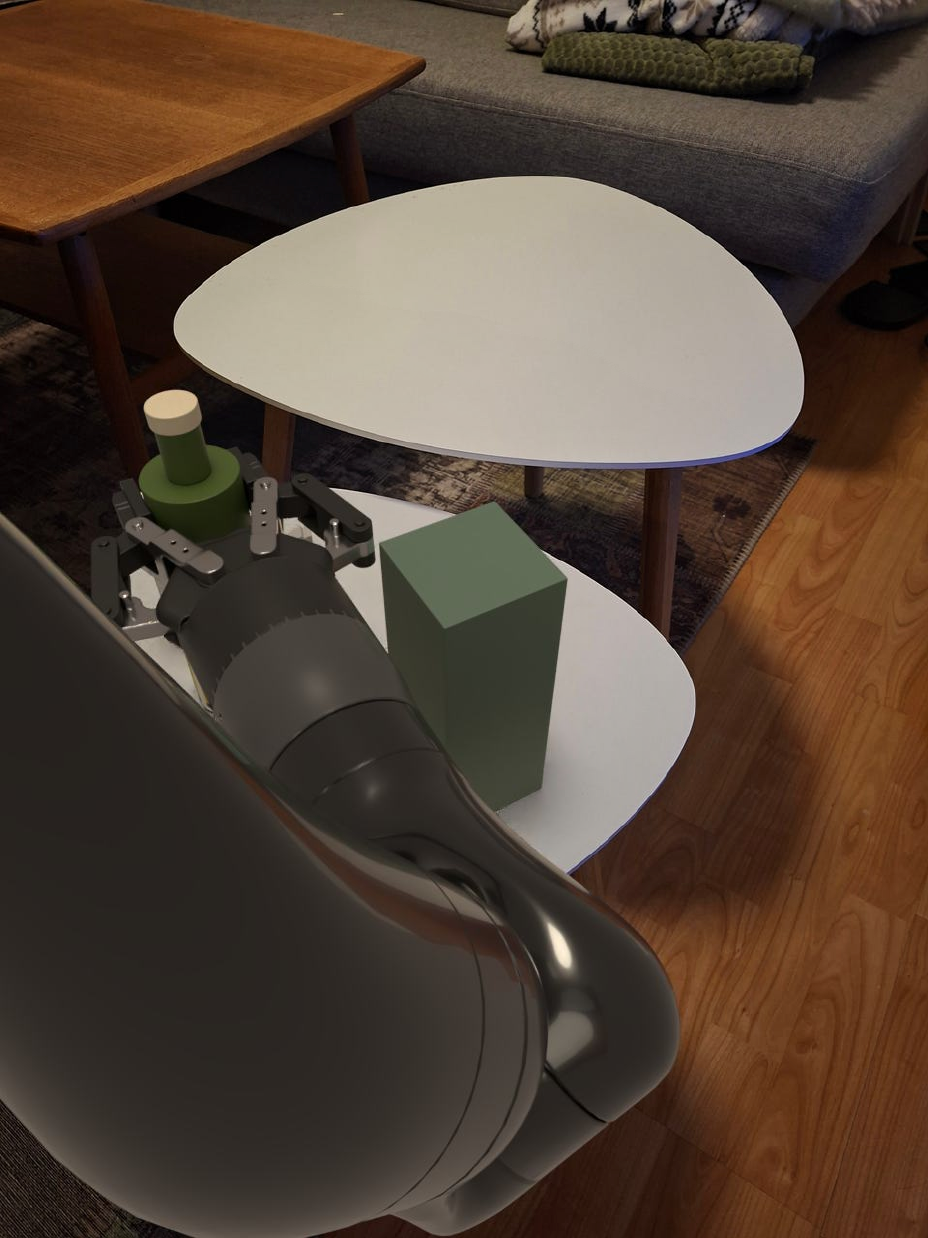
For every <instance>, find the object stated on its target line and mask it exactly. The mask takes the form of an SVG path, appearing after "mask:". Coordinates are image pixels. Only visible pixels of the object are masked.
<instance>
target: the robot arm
mask: <svg viewBox="0 0 928 1238" xmlns="http://www.w3.org/2000/svg"><path fill="white" fill-rule="evenodd" d="M226 450H227V451H229V452H230V453H232V454H233V455H234V456H235V457H236V459H237V460H238V462H239V465H240V470H241V474H242V479H243V483H244V488H245V492H246V497H247V501H248V506H249V510H250V515H251V525H249V526H246V527H243V528H240V529H237V530H235V531H233V532H231V533H229V534H227V535H225V536H224V537H221V538H216V539H210V540H204V541H201V542H198V543H193V542H192V541H190V540H189V539H187V538H186V537H184V536H183V535H181V534H180V533H178V532H177V531H175V530H174V529H169V530H168V531H165V530H164V529H162V528H161V527H159V526H158V525H156V524H155V523H154V521H153V518H152V515H151V512H150V510H149V508H148V506H147V504H146V503H145V501H144V498H143V497H142V495H141V490H140V488H139V486H138V485H137V483H136V481H135V480H134V478H133V477H131V478H126V479H123V480H120V481H119V485H120V489H121V490H120V491H116V492H114V493H112V498H111V502H112V504H113V507H114V509H115V512H116V515H117V518H118V521H119V523H120V526H121V527H122V529H123V531H122V533H120V534H119V535H118V536H117V537H114V536H112V535H103V536H99V537H98V538H95V539H94V540H93V541H92V542H91V544H90V595H88V594H87V593H86V592H85V591H84V589H82V588H81V587H80V586H79V585H78V583H76V582H75V581H74V580H73V579H72V578H71V577H70V576H69V575H68V573H66V572H65V571H64V570H63V568H61V567H60V566H59V565H57V563H55V561H53V559H51V557H49V556H48V555H47V554H46V553H45V551H43V550H42V549H41V548H40V547H39V546H38V545H37V544H36V543H35V542H34V541H33V540H32V539H31V538H30V537H29V536H28V535H27V534H26V533H25V532H23V531H22V529H20V528H19V527H18V526H17V525H16V524H15V523H14V522H13V521H12V520H11V519H10V518H9V517H7V516H6V515H5V514H4V513H3V512H2V511H0V1101H2V1103H3V1104H4V1105H5V1106H6V1107H7V1108H8V1109H9V1110H10V1111H11V1112H12V1113H13V1115H14V1116H15V1117H16V1118H17V1119H18V1120H19V1121H20V1122H21V1123H22V1124H23V1126H24V1127H25V1128H26V1129H27V1130H28V1131H29V1132H30V1133H31V1134H32V1135H33V1136H34V1137H35V1138H36V1139H37V1141H38V1142H39V1143H40V1144H41V1145H42V1146H43V1147H44V1148H45V1150H46V1151H48V1152H49V1154H50V1155H51V1157H53V1158H54V1159H55V1160H56V1161H57V1162H58V1163H59V1164H61V1165H62V1166H63V1167H64V1168H65V1169H67V1170H68V1171H69V1172H70V1173H72V1174H73V1175H74V1176H75V1177H77V1178H78V1179H79V1180H80V1181H81V1182H83V1183H84V1184H86V1185H87V1186H89V1187H90V1188H92V1189H93V1190H95V1191H96V1192H97V1193H98V1194H99V1195H101V1196H102V1197H104V1198H105V1199H107V1200H108V1201H109V1202H111V1203H113V1204H114V1205H116V1206H118V1207H119V1208H121V1209H123V1210H124V1211H126V1212H128V1213H130V1214H131V1215H133V1216H134V1217H136V1218H138V1219H141V1220H144V1221H146V1222H149V1223H152V1224H155V1225H157V1226H160V1227H163V1228H166V1229H168V1230H172V1231H175V1232H178V1233H180V1234H182V1235H186V1236H189V1237H192V1238H309V1237H314V1236H318V1235H322V1234H326V1233H331V1232H334V1231H338V1230H342V1229H345V1228H349V1227H351V1226H354V1225H357V1224H360V1223H364V1222H367V1221H371V1220H375V1219H377V1218H381V1217H384V1216H387V1215H392V1216H394V1217H397V1218H398V1219H399V1218H400V1219H402V1220H404V1221H407V1222H408V1223H410V1224H412V1225H414V1226H416V1227H417V1228H420V1229H421V1230H423V1231H425V1232H427V1233H429V1234H431V1235H435V1236H440V1237H449V1236H453V1235H458V1234H460V1233H463V1232H465V1231H467V1230H469V1229H471V1228H473V1227H475V1226H477V1225H479V1224H481V1223H483V1222H485V1221H486V1220H489V1219H490V1218H491V1217H493V1216H495V1215H496V1214H498V1213H500V1212H502V1211H503V1209H505V1208H507V1207H508V1206H509V1205H511V1204H512V1203H513V1202H515V1201H516V1200H517V1199H519V1198H520V1197H521V1196H522V1195H524V1194H525V1193H526V1192H528V1191H529V1190H530V1189H531V1188H532V1187H534V1186H535V1185H537V1183H539V1181H541V1180H542V1179H544V1178H545V1177H546V1176H547V1175H549V1174H550V1173H551V1172H552V1171H553V1170H555V1169H556V1168H557V1167H558V1166H560V1165H561V1164H562V1163H563V1162H564V1161H566V1160H567V1159H568V1158H570V1157H571V1156H572V1155H573V1154H575V1153H576V1152H577V1151H579V1150H580V1149H581V1148H582V1147H583V1146H584V1145H586V1144H588V1142H589V1141H591V1140H592V1139H593V1138H594V1137H596V1136H597V1135H599V1133H601V1132H602V1131H603V1130H604V1129H605V1128H607V1127H608V1126H610V1123H612V1122H615V1121H616V1120H618V1118H620V1117H621V1116H623V1114H626V1112H628V1111H629V1110H630V1109H631V1108H633V1107H634V1106H635V1105H637V1104H638V1103H639V1102H640V1101H641V1100H643V1099H644V1098H646V1096H647V1095H649V1094H650V1093H651V1092H652V1091H653V1090H654V1089H656V1088H657V1087H658V1086H659V1085H660V1084H661V1082H662V1081H663V1080H664V1079H665V1078H666V1077H667V1076H668V1075H669V1074H670V1072H671V1070H672V1069H673V1067H674V1065H675V1063H676V1061H677V1058H678V1054H679V1048H680V1043H681V1017H680V1011H679V1006H678V1005H679V1004H678V999H677V996H676V992H675V989H674V987H673V983H672V981H671V978H670V976H669V974H668V972H667V970H666V968H665V966H664V964H663V962H662V961H661V958H659V955H658V954H657V953H656V951H655V950H654V949H653V947H652V946H651V945H650V944H649V942H648V941H647V940H646V938H645V937H644V936H642V935H641V933H640V932H639V931H638V930H637V929H636V928H635V927H633V926H632V925H631V924H630V922H628V921H627V920H626V919H625V918H624V917H623V916H622V915H621V914H619V913H618V912H617V911H616V910H614V909H613V908H612V907H611V906H610V905H609V904H607V903H606V902H605V901H603V900H602V899H601V898H600V897H598V896H597V895H596V894H595V893H593V892H591V891H590V890H589V889H587V887H585V886H584V885H583V884H581V883H580V882H578V881H577V880H576V879H575V878H573V877H572V876H571V875H570V874H568V873H567V872H566V871H564V870H563V869H561V868H560V867H559V866H557V865H556V864H555V863H553V862H552V861H550V860H549V859H548V858H547V857H545V855H543V854H541V853H540V852H539V851H538V850H537V849H536V848H535V847H533V846H532V845H531V844H530V843H528V841H526V840H525V839H524V838H523V837H522V836H521V835H520V834H518V833H517V832H516V831H515V830H514V829H512V828H511V826H509V825H508V824H507V823H506V822H505V821H504V819H502V818H501V817H500V815H498V814H497V812H496V811H493V810H492V809H491V808H490V807H489V805H488V804H487V803H486V802H485V801H484V800H483V799H482V798H481V796H480V795H479V794H478V793H477V792H476V791H475V790H474V788H473V787H472V785H471V784H470V783H469V781H468V780H467V779H466V778H465V776H464V775H463V773H462V772H461V771H460V769H459V768H458V766H457V765H456V764H455V762H454V761H453V760H452V758H451V757H450V755H449V754H448V752H447V751H446V749H445V748H444V746H443V745H442V743H441V742H440V740H439V739H438V738H437V736H436V735H435V733H434V732H433V730H432V729H431V727H430V726H429V724H428V723H427V721H426V720H425V719H424V717H423V715H422V714H421V712H420V710H419V709H418V707H417V705H416V703H415V701H414V699H413V696H412V694H411V692H410V690H409V687H408V685H407V683H406V681H405V679H404V678H403V676H402V674H401V672H400V671H399V669H398V668H397V666H396V664H395V663H394V662H393V660H392V659H391V657H390V656H389V654H388V650H386V648H385V647H384V646H383V644H382V642H381V641H380V640H379V638H378V637H377V635H376V634H375V632H374V631H373V629H372V628H371V627H370V625H369V624H368V622H367V621H366V620H365V618H364V616H363V615H362V613H361V612H360V611H359V609H358V608H357V606H356V605H355V603H354V602H353V601H352V599H351V597H350V596H349V595H348V593H347V592H346V590H345V589H344V587H343V586H342V585H341V583H340V582H339V580H338V579H337V578H336V577H337V576H336V573H338V571H340V570H342V569H344V568H346V567H347V566H349V565H351V564H352V565H353V566H354V567H356V568H358V569H367V568H370V567H373V565H375V564H376V561H377V560H376V559H377V558H376V549H375V539H374V538H375V537H374V526H373V520H372V519H371V518H370V517H369V516H367V515H366V514H365V513H364V512H362V511H361V510H359V509H358V508H357V507H355V505H353V504H351V503H350V502H349V501H347V500H346V499H345V498H343V496H341V495H339V494H338V493H336V491H334V490H333V489H331V488H330V487H328V486H327V485H326V484H325V483H323V482H322V481H320V480H319V479H318V478H317V477H315V476H314V475H312V474H310V473H307V472H301V473H298V474H295V475H294V476H293V477H291V479H290V482H278V481H277V479H276V478H275V477H271V476H270V475H269V474H268V472H267V470H266V469H265V467H264V466H263V465H262V463H261V462H260V460H259V458H258V457H257V456H256V455H254V454H253V453H251V452H250V451H249V452H245V453H242V451H241V450H240V449H239V447H238V446H234V447H231V448H227V449H226ZM295 518H296V519H297V521H298V522H299V523H301V524H302V525H303V527H305V526H306V527H307V528H308V529H309V530H311V533H313V534H314V535H316V536H317V537H318V538H319V539H320V540H322V541H323V542H324V546H325V547H324V546H323V545H322V544H321V545H320V544H318V543H315V542H313V543H312V542H309V541H305V540H302V539H299V538H296V537H293V536H289V535H286V534H287V533H285V519H287V520H288V519H295ZM140 569H141V570H143V571H144V572H145V573H147V574H148V575H150V576H151V577H152V578H153V579H154V578H155V579H157V580H158V581H160V582H161V584H162V585H163V587H164V588H165V589H164V591H163V593H162V595H161V597H159V599H158V600H157V603H156V606H155V608H151V607H150V608H149V607H147V606H145V605H144V604H143V602H142V600H141V598H140V597H137V596H134V595H133V596H132V578H131V575H132V574H133V573H135V572H137V571H139V570H140ZM155 579H154V580H155ZM162 636H163V637H164V638H165V639H166V640H167V641H168V642H169V643H170V644H172V645H174V646H176V647H178V648H180V649H181V650H182V651H183V653H184V652H185V654H186V657H187V659H188V661H189V663H190V665H191V667H192V669H193V671H194V673H195V676H196V678H197V680H198V682H199V684H200V686H201V688H202V690H203V692H204V695H205V697H206V699H207V701H208V703H209V705H210V707H211V709H212V711H211V712H212V714H213V716H212V715H211V714H210V713H209V712H208V711H207V710H206V708H205V707H204V706H203V705H202V704H200V703H199V702H198V701H197V700H196V699H195V698H194V697H193V696H192V695H191V694H190V693H189V692H188V691H187V690H186V689H184V687H183V686H181V684H180V683H179V682H177V680H175V679H174V678H173V676H171V674H169V673H168V671H166V670H165V669H164V668H163V667H162V666H161V665H160V663H158V662H156V660H155V659H154V658H152V656H151V655H150V654H148V653H147V652H146V651H145V650H144V649H143V648H142V647H141V646H140V645H139V644H138V643H137V642H139V641H143V640H148V639H149V640H150V639H155V638H159V637H162ZM185 654H184V655H185ZM186 657H185V658H186Z"/></svg>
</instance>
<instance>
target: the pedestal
mask: <svg viewBox="0 0 928 1238" xmlns="http://www.w3.org/2000/svg"><path fill="white" fill-rule="evenodd" d="M378 549H379V550H378V551H379V563H380V573H381V575H380V576H381V587H382V597H383V599H382V600H383V609H384V621H385V634H386V647H387V653H388V654H389V656H390V657H391V659H392V660H393V662H394V663H395V664H396V666H397V668H398V669H399V671H400V672H401V674H402V676H403V678H404V679H405V681H406V683H407V685H408V687H409V690H410V692H411V694H412V696H413V699H414V701H415V703H416V705H417V707H418V709H419V710H420V712H421V714H422V715H423V717H424V719H425V720H426V721H427V723H428V724H429V726H430V727H431V729H432V730H433V732H434V733H435V735H436V736H437V738H438V739H439V740H440V742H441V743H442V745H443V746H444V748H445V749H446V751H447V752H448V754H449V755H450V757H451V758H452V760H453V761H454V762H455V764H456V765H457V766H458V768H459V769H460V771H461V772H462V773H463V775H464V776H465V778H466V779H467V780H468V781H469V783H470V784H471V785H472V787H473V788H474V790H475V791H476V792H477V793H478V794H479V795H480V796H481V798H482V799H483V800H484V801H485V802H486V803H487V804H488V805H489V807H490V808H491V809H492V810H493V811H494V812H497V811H498V810H500V809H502V808H504V807H506V806H508V805H510V804H512V803H514V802H516V801H518V800H520V799H522V798H524V797H527V796H528V795H530V794H532V793H534V792H536V791H538V790H540V789H542V786H543V781H544V780H543V779H544V772H545V763H546V756H547V747H548V739H549V731H550V724H551V716H552V715H551V714H552V706H553V699H554V690H555V684H556V675H557V668H558V659H559V651H560V643H561V638H562V637H561V636H562V629H563V628H562V627H563V619H564V612H565V604H566V597H567V588H568V582H569V581H568V579H569V578H568V577H567V576H566V575H565V573H564V572H563V571H561V569H560V568H559V567H558V566H557V565H556V564H555V563H554V562H553V561H552V560H551V559H550V557H549V556H547V554H546V553H545V552H544V551H543V550H542V549H541V548H540V547H539V546H538V545H537V544H536V543H535V542H534V541H533V540H532V539H531V538H530V536H529V535H527V533H526V532H525V531H524V530H523V529H522V528H521V527H520V526H519V524H517V523H516V522H515V521H514V520H513V518H512V517H511V516H510V515H509V514H508V513H507V512H506V511H505V510H504V509H503V508H502V506H500V505H499V503H497V502H496V501H491V502H488V503H485V504H483V505H479V506H478V507H474V508H472V509H469V510H466V511H463V512H460V513H457V514H455V515H452V516H449V517H446V518H444V519H441V520H438V521H436V522H433V523H431V524H430V523H429V524H427V525H425V526H422V527H419V528H416V529H413V530H411V531H408V532H405V533H402V534H399V535H396V536H394V537H391V538H388V539H385V540H383V541H380V542H378Z"/></svg>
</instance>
